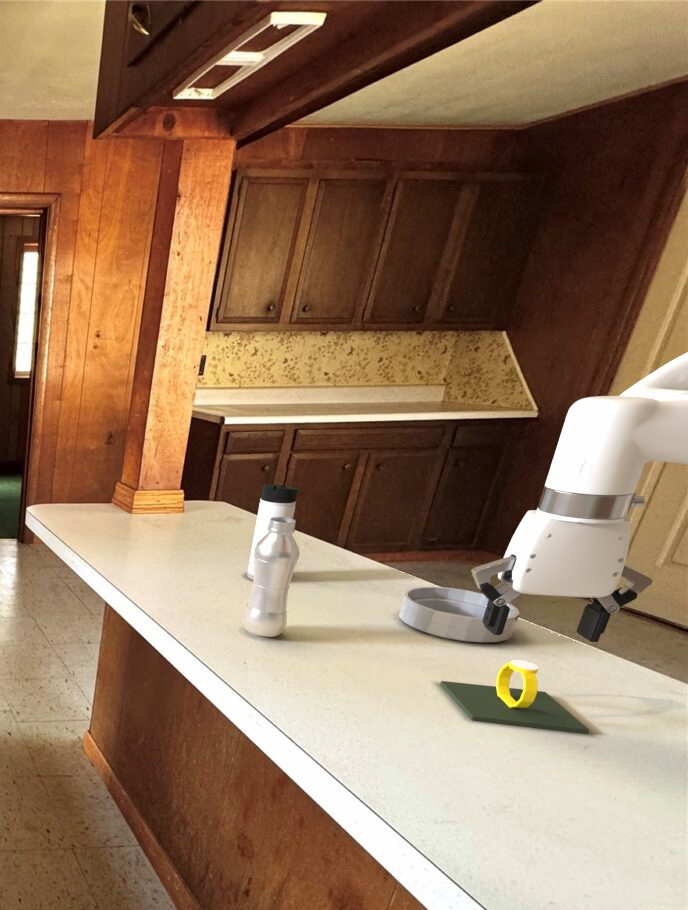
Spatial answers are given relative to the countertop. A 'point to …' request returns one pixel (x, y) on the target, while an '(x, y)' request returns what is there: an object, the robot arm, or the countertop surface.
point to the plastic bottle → (272, 579)
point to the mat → (491, 708)
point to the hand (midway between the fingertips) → (538, 634)
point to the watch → (529, 683)
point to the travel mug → (272, 512)
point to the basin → (452, 614)
